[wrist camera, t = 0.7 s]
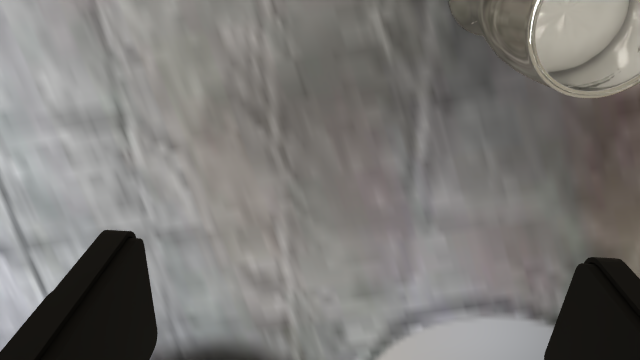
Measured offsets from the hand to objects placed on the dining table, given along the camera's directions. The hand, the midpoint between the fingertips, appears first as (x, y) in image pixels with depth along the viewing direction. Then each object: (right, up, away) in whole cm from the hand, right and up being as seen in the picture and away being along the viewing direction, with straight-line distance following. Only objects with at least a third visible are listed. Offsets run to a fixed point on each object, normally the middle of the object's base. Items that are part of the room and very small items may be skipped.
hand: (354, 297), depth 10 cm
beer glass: (+11, +16, +22) cm, 30 cm away
